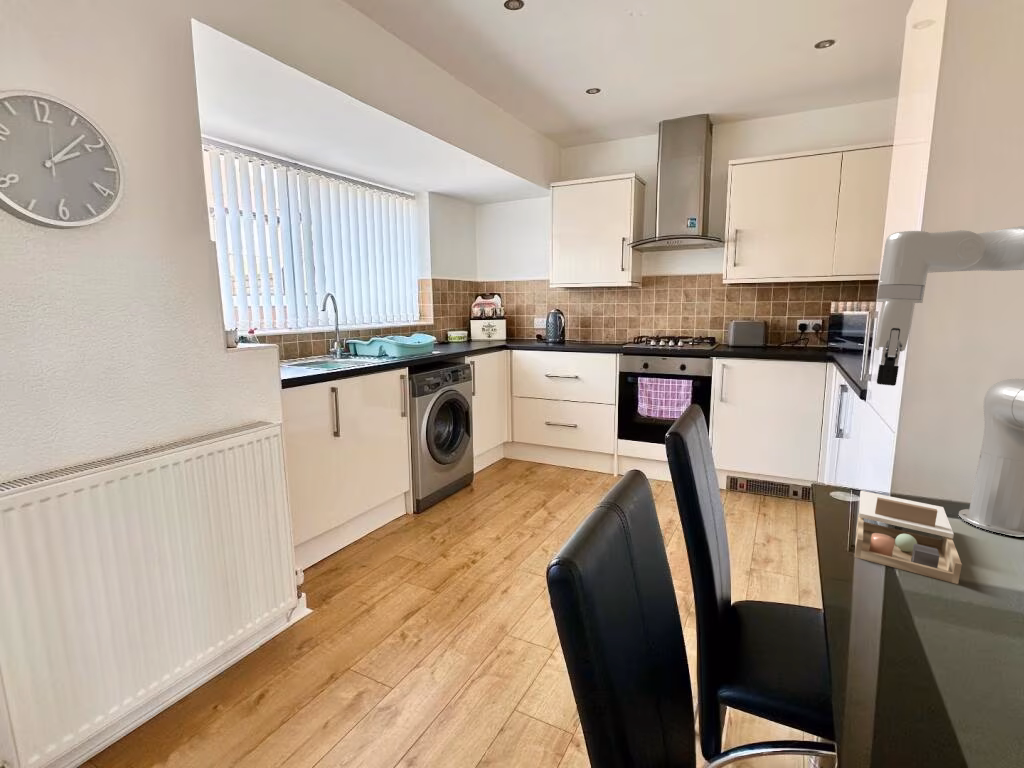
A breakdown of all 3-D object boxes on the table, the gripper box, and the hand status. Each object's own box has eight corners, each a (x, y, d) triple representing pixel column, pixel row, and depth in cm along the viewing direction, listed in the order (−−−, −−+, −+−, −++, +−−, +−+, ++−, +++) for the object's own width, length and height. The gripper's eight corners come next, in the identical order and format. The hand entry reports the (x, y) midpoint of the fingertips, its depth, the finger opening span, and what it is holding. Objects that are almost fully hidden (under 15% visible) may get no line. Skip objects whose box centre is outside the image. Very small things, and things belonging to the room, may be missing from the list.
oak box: (856, 529, 103) (859, 510, 103) (945, 550, 95) (949, 530, 95) (854, 559, 90) (857, 538, 90) (957, 587, 82) (961, 564, 82)
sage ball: (898, 545, 95) (901, 529, 95) (918, 552, 93) (921, 536, 92) (890, 549, 94) (893, 532, 93) (911, 556, 91) (914, 540, 90)
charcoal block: (911, 560, 90) (913, 543, 89) (934, 566, 88) (937, 548, 87) (912, 567, 87) (915, 550, 87) (936, 573, 85) (939, 556, 85)
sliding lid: (860, 494, 112) (862, 477, 111) (942, 510, 104) (945, 493, 103) (858, 517, 98) (861, 498, 98) (953, 538, 91) (956, 518, 90)
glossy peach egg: (874, 547, 94) (876, 531, 93) (895, 555, 91) (898, 539, 91) (865, 551, 92) (868, 535, 92) (886, 560, 89) (889, 543, 89)
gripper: (877, 296, 111) (864, 378, 114) (877, 293, 99) (863, 386, 102) (920, 296, 107) (906, 383, 110) (927, 294, 95) (910, 391, 97)
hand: (885, 384), depth 106 cm, fingers closed
